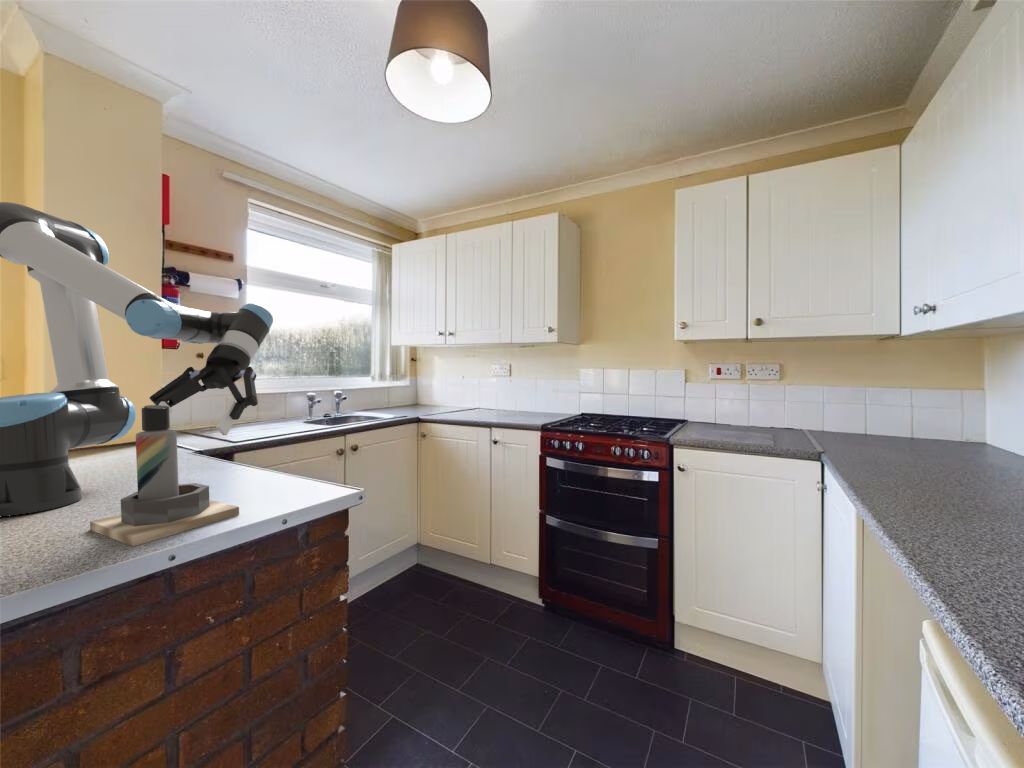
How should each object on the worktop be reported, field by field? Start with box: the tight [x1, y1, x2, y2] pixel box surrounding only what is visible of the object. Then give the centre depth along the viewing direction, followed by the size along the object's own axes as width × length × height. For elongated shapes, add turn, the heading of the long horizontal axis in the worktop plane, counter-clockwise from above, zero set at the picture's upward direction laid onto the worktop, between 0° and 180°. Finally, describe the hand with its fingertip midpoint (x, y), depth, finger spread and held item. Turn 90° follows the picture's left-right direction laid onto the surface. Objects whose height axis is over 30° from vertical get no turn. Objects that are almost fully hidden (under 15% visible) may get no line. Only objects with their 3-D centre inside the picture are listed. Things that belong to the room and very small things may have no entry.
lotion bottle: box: [135, 404, 180, 500], centre depth 75 cm, size 6×6×20 cm
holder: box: [89, 482, 240, 547], centre depth 75 cm, size 16×16×6 cm
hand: (184, 431), depth 79 cm, fingers open, 13 cm apart
